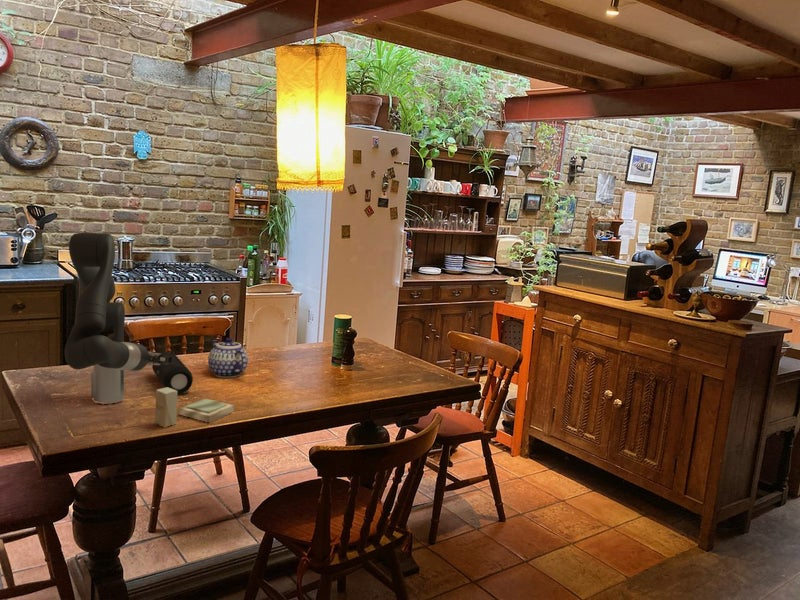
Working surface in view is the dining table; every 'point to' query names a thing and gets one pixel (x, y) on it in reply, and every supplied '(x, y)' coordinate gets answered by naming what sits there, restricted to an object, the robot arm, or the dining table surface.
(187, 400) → the dining table surface
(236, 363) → the teapot
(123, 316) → the robot arm
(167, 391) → the box
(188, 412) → the birch base
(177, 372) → the portable speaker
